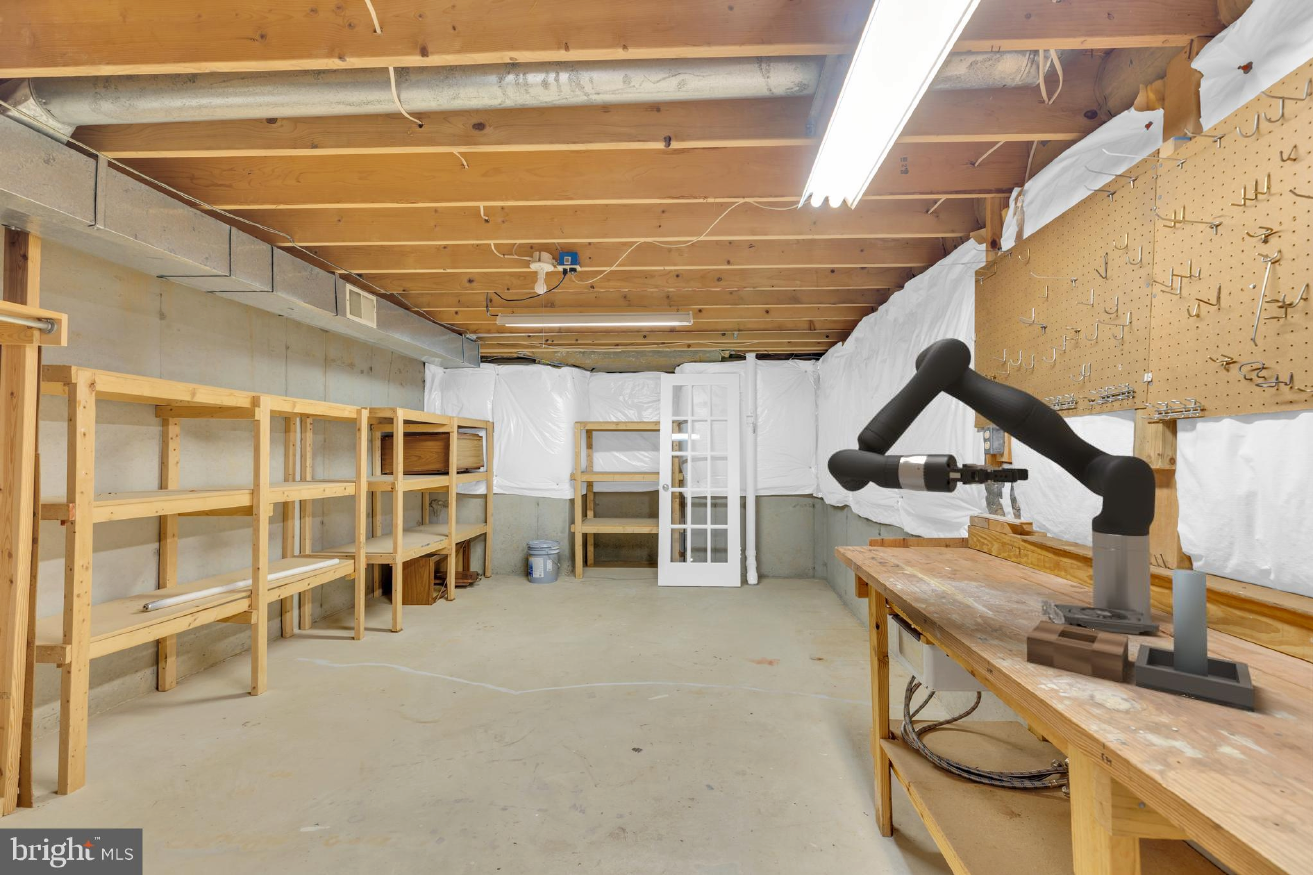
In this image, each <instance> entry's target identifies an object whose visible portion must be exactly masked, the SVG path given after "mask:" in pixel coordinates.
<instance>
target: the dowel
mask: <svg viewBox="0 0 1313 875" xmlns="http://www.w3.org/2000/svg"><path fill="white" fill-rule="evenodd" d="M1171 573H1172V617H1173V618H1172V620H1173V622H1172V623H1173V624H1172V625H1173V650H1174V671H1179V672H1184V673H1189V674H1194V675H1199V676H1204V677H1208V659H1207V656H1208V619H1207V616H1208V612H1207V611H1208V610H1207V608H1208V607H1207V573H1206V572H1204V571H1199V570H1192V569H1184V568H1183V569H1181V568H1176V569H1172V572H1171Z"/></svg>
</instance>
